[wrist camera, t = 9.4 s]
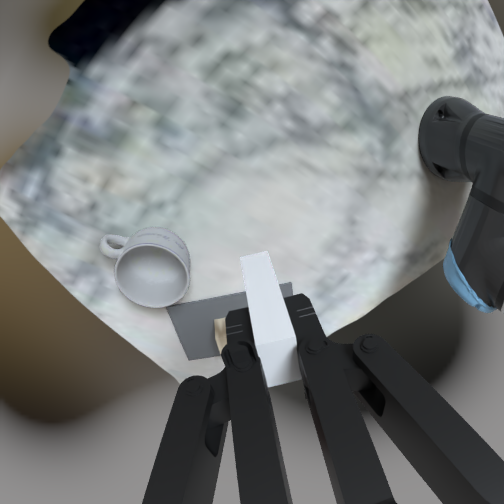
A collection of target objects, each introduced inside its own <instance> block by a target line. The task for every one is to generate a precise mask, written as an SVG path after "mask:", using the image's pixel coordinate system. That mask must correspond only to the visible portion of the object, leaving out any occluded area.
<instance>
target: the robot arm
mask: <svg viewBox="0 0 504 504" xmlns="http://www.w3.org/2000/svg"><path fill="white" fill-rule="evenodd" d="M419 146H420V151H421V155H422V158H423V160H424V162H425V164H426V166H427V167H428V168H429V170H430V171H431V172H432V173H434V174H435V175H437V176H439V177H441V178H443V179H445V180H448V181H454V182H473V185H472V188H471V191H470V194H469V197H468V200H467V202H466V205H465V208H464V210H463V213H462V216H461V218H460V221H459V223H458V226H457V228H456V231H455V233H454V235H453V238H452V239H451V240H450V242H449V248H448V251H447V254H446V256H445V259H444V262H443V269H444V274H445V276H446V279H447V281H448V282H449V284H450V285H451V287H452V288H453V289H454V291H455V292H456V293H457V294H458V295H459V296H460V297H461V298H462V299H463V300H464V301H465V302H467V303H468V304H469V305H471V306H475V307H476V308H477V309H478V310H479V311H482V312H485V313H491V312H493V311H494V310H496V309H499V310H500V311H501V312H502V313H504V118H501V117H497V116H493V115H489V114H485V113H484V112H482V111H481V110H479V109H478V108H477V107H475V106H474V105H472V104H471V103H469V102H468V101H466V100H464V99H462V98H458V97H451V96H445V97H441V98H439V99H437V100H435V101H434V102H433V103H432V104H431V105H430V106H429V107H428V108H427V110H426V112H425V114H424V116H423V118H422V121H421V125H420V130H419ZM240 261H241V266H242V272H243V278H244V284H245V290H246V295H247V301H248V307H246V308H241V309H237V310H232V311H229V312H228V314H227V316H226V318H225V325H226V338H227V344H226V345H225V346H224V347H223V349H222V351H221V357H222V359H223V362H224V364H225V368H224V369H223V370H222V371H221V372H220V373H218V374H217V375H215V376H213V377H210V378H208V379H207V378H205V377H203V376H198V375H197V376H191V377H189V378H187V379H185V380H184V381H183V382H182V383H181V384H180V386H179V388H178V391H177V394H176V397H175V400H174V403H173V406H172V409H171V412H170V415H169V418H168V422H167V424H166V428H165V431H164V434H163V437H162V440H161V443H160V447H159V450H158V453H157V456H156V459H155V463H154V466H153V469H152V472H151V476H150V479H149V482H148V485H147V489H146V492H145V496H144V499H143V502H142V504H212V502H213V498H214V492H215V488H216V482H217V478H218V472H219V467H220V462H221V457H222V452H223V446H224V442H225V437H226V432H227V426H228V421H230V420H231V423H232V433H233V443H234V452H235V461H236V469H237V478H238V486H239V495H240V503H241V504H293V503H292V498H291V494H290V489H289V484H288V480H287V475H286V470H285V465H284V461H283V456H282V452H281V446H280V442H279V437H278V432H277V427H276V423H275V418H274V413H273V408H272V403H271V398H270V394H269V391H268V387H272V386H276V385H280V384H285V383H289V382H293V381H297V380H301V379H303V383H304V390H305V398H306V399H307V400H308V404H309V407H310V410H311V414H312V418H313V421H314V424H315V428H316V431H317V434H318V438H319V442H320V445H321V449H322V452H323V456H324V459H325V463H326V466H327V470H328V473H329V477H330V481H331V484H332V488H333V491H334V495H335V498H336V502H337V504H397V503H396V502H395V500H394V498H393V495H392V492H391V490H390V487H389V484H388V481H387V479H386V476H385V474H384V471H383V468H382V466H381V463H380V460H379V458H378V455H377V452H376V450H375V447H374V445H373V442H372V440H371V437H370V435H369V432H368V430H367V427H366V424H365V422H364V419H363V417H362V414H361V412H360V409H359V407H358V404H357V402H356V400H355V397H354V395H353V392H354V394H355V395H356V396H357V398H358V399H359V400H360V401H361V403H362V404H363V405H364V406H365V408H366V409H367V410H368V411H369V412H370V414H371V415H372V416H373V418H374V419H375V420H376V421H377V423H378V424H379V425H380V426H381V427H382V428H383V430H384V431H385V432H386V434H387V435H388V436H389V437H390V438H391V440H392V441H393V443H394V444H395V445H396V446H397V447H398V449H399V450H400V451H401V452H402V453H403V455H404V456H405V457H406V459H407V460H408V461H409V462H410V464H411V465H412V466H413V467H414V468H415V470H416V471H417V472H418V474H419V475H420V476H421V477H422V478H423V480H424V481H425V482H426V483H427V485H428V486H429V487H430V488H431V490H432V491H433V492H434V493H435V494H436V496H437V497H438V498H439V499H440V501H441V502H442V503H443V504H504V461H503V460H502V459H501V458H500V457H499V456H498V455H497V453H495V451H494V450H493V449H492V448H491V447H490V446H489V445H488V444H487V443H486V442H485V441H484V440H483V439H482V438H481V437H480V436H479V434H478V433H477V432H476V431H475V430H474V429H473V428H472V427H471V426H470V425H469V424H468V423H467V422H466V421H465V420H464V419H463V418H462V417H461V416H460V415H459V414H458V413H457V412H456V411H455V410H454V409H453V408H452V407H451V406H450V405H449V404H448V402H446V400H445V399H444V398H443V397H441V396H440V394H439V393H438V392H437V391H436V390H435V389H434V388H433V387H432V386H431V385H430V384H429V383H428V382H427V381H426V380H425V379H424V378H422V376H421V375H420V374H419V373H418V372H417V371H416V370H415V369H414V368H413V367H411V365H410V364H408V362H407V361H405V360H404V359H403V358H402V357H401V356H400V355H399V354H398V353H397V352H396V351H395V350H394V349H393V348H392V347H391V346H390V345H389V344H388V343H387V342H386V341H385V340H384V339H383V338H382V337H380V336H378V335H375V334H365V335H362V336H360V337H358V338H357V339H356V340H355V342H354V344H338V343H335V342H332V341H330V340H329V339H328V338H327V337H326V336H325V334H324V331H323V329H322V327H321V324H320V322H319V320H318V317H317V315H316V314H315V311H314V308H313V306H312V304H311V301H310V299H309V298H308V297H306V296H305V295H304V294H302V293H301V294H297V295H293V296H289V297H285V298H283V296H282V293H281V290H280V287H279V284H278V281H277V278H276V275H275V272H274V269H273V266H272V263H271V260H270V257H269V254H268V251H264V252H260V253H256V254H252V255H247V256H243V257H240ZM352 391H353V392H352Z"/></svg>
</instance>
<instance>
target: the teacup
mask: <svg viewBox="0 0 504 504" xmlns="http://www.w3.org/2000/svg"><path fill="white" fill-rule="evenodd" d="M109 243H110V244H117V245H120V246H123V247H122V248H120V249H113V248H112V247H110V246H109V245H108V244H109ZM99 246H100V250H101V252H102V253H103V254H104V255H105V256H107V257H109V258H113V259H117V261H116V264H115V269H114V277H115V281H116V284H117V286H118V288H119V289H120V291H121V292H122V293H123V294H124V295H125V296H126V297H127V298H128V299H130V300H131V301H133V302H135V303H136V304H139V305H142V306H145V307H150V308H161V307H167V306H169V305H172V304H174V303H176V302H178V301H179V300H180V299H181V298H182V297H184V295H185V294H186V292H187V290H188V288H189V284H190V255H189V251H188V249H187V246H186V244H185V243H184V241H183V240H182V239H181V238H180V237H179V236H178V235H177V234H175V233H174V232H172V231H170V230H168V229H165V228H160V227H149V228H145V229H142V230H139V231H138V232H136V233H135V234H134V235H132V236H131V237H122V236H118V235H112V234H109V235H105V236H104V237H103V238H102V239H101V241H100V245H99Z"/></svg>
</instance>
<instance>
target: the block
mask: <svg viewBox="0 0 504 504" xmlns="http://www.w3.org/2000/svg"><path fill="white" fill-rule="evenodd" d="M214 323H215V339H216V342H217V345H218V348H219V351H220V354H221V351H222V349H223V347H224V346H225V345H226V344H227V338H226V325H225V318H220V319H215V320H214Z"/></svg>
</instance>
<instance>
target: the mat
mask: <svg viewBox="0 0 504 504" xmlns="http://www.w3.org/2000/svg"><path fill="white" fill-rule="evenodd" d="M279 287H280V290H281V293H282V296H283V298H285V297H289V296H293V291H292V283H291V282H289V283H284V284H280V285H279ZM246 307H248V301H247V295H246V292H241V293H236V294H230V295H225V296H220V297H215V298H210V299H204V300H199V301H194V302H188V303H183V304H177V305H172V306H167V310H168V313H169V315H170V318H171V320H172V323H173V325H174V327H175V330H176V332H177V335H178V337H179V339H180V342H181V344H182V346H183V349H184V351H185V353H186V355H187V358H188V360H195V359H202V358H208V357H214V356H220V355H221V354H220V351H219V348H218V345H217V342H216V339H215V323H214V320H215V319H220V318H226V316H227V314H228V312H229V311H232V310H237V309H241V308H246Z"/></svg>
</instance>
